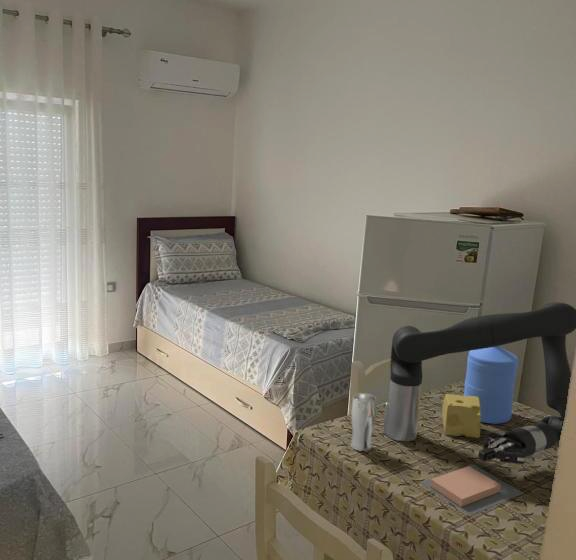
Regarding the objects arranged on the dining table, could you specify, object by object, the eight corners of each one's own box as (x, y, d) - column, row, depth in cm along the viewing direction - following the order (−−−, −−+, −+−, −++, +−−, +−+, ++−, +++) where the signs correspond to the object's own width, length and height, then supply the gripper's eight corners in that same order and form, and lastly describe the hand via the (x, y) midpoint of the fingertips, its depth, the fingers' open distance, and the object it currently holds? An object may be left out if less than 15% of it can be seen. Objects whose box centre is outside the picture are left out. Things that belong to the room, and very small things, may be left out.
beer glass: (343, 446, 164) (347, 396, 161) (358, 438, 169) (362, 390, 166) (363, 455, 159) (367, 404, 157) (377, 447, 164) (382, 398, 162)
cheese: (479, 440, 172) (483, 409, 170) (442, 435, 174) (445, 404, 172) (475, 425, 182) (479, 396, 180) (440, 421, 184) (443, 391, 182)
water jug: (492, 429, 180) (503, 343, 175) (451, 410, 193) (460, 330, 187) (520, 418, 189) (531, 337, 184) (480, 401, 202) (489, 325, 196)
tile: (468, 473, 151) (430, 487, 144) (469, 466, 151) (430, 479, 143) (499, 492, 143) (461, 507, 135) (500, 484, 142) (462, 499, 135)
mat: (419, 484, 146) (419, 482, 146) (472, 466, 156) (472, 464, 156) (468, 517, 133) (469, 515, 132) (523, 495, 143) (523, 493, 143)
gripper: (505, 419, 158) (462, 431, 149) (548, 439, 147) (505, 454, 138) (502, 444, 159) (459, 458, 150) (544, 466, 149) (501, 482, 139)
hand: (481, 456), depth 144 cm, fingers closed
